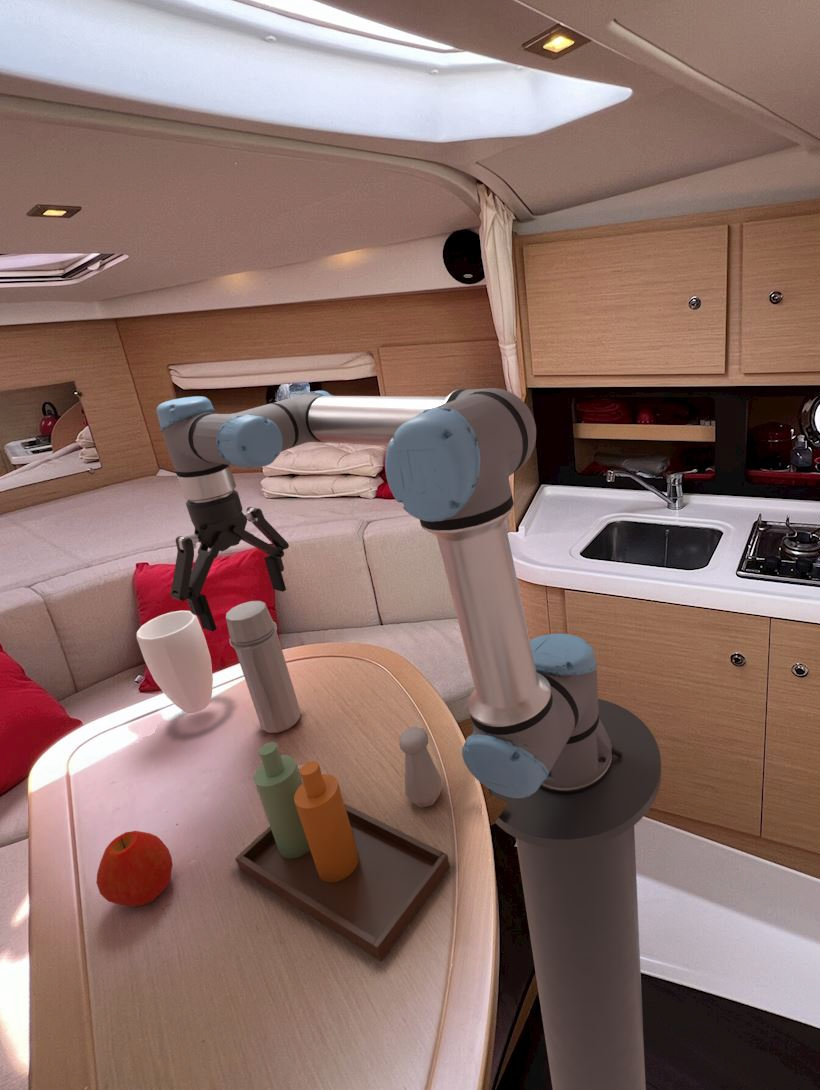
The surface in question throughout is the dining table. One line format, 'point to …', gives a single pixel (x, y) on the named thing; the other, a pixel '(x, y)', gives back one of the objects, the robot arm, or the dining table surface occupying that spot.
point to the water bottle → (263, 665)
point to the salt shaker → (419, 768)
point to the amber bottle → (326, 824)
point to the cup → (178, 659)
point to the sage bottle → (281, 799)
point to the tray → (355, 882)
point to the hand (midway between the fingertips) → (246, 608)
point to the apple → (134, 869)
